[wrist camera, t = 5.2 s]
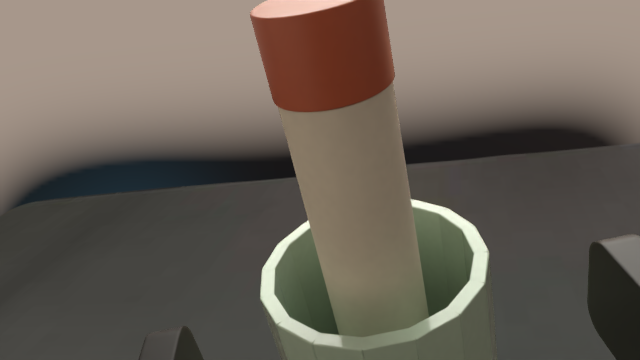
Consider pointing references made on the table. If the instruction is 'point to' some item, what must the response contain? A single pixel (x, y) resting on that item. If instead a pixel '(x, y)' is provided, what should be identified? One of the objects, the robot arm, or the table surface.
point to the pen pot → (397, 346)
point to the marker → (347, 155)
